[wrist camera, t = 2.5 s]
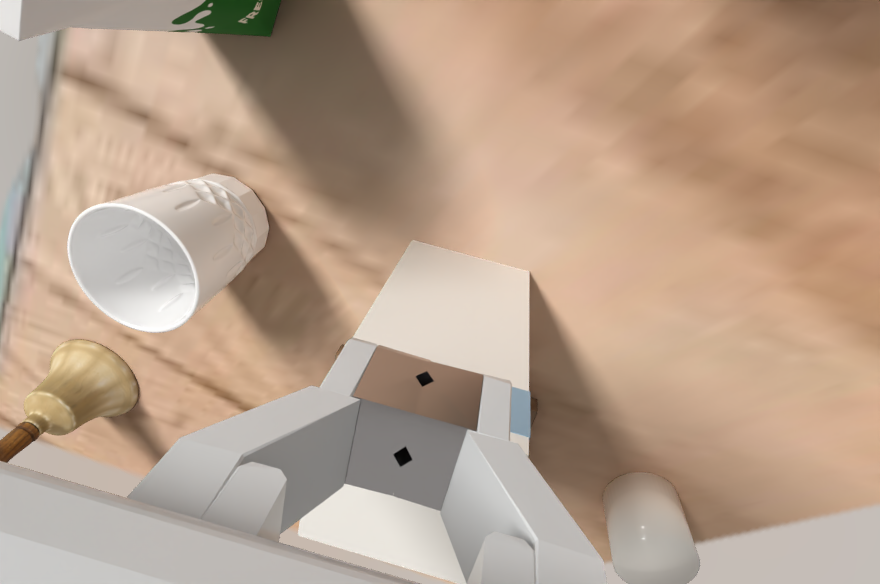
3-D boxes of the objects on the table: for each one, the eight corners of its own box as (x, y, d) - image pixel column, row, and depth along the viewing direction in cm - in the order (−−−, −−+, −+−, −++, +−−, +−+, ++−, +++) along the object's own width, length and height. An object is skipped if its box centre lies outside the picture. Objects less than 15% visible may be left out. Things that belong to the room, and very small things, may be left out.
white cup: (236, 287, 40) (153, 355, 31) (156, 212, 38) (43, 262, 29) (298, 225, 37) (225, 282, 28) (214, 140, 35) (108, 172, 26)
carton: (530, 270, 36) (530, 454, 20) (497, 369, 40) (474, 589, 24) (411, 238, 36) (316, 393, 20) (390, 339, 40) (296, 535, 24)
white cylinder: (691, 485, 41) (715, 549, 36) (659, 533, 44) (677, 600, 39) (619, 463, 42) (632, 524, 36) (591, 512, 44) (600, 576, 39)
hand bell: (132, 349, 45) (-53, 491, 30) (144, 422, 48) (-17, 579, 34) (45, 330, 45) (-177, 460, 31) (63, 403, 49) (-128, 550, 35)
